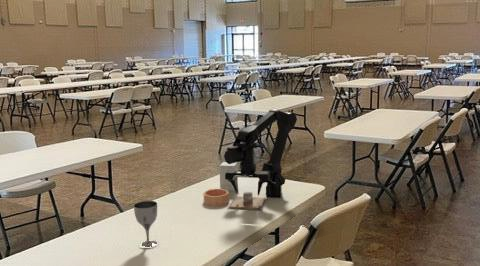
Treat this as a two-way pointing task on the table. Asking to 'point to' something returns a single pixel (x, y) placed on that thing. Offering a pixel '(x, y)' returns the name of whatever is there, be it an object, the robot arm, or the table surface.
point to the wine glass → (146, 217)
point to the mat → (248, 209)
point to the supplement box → (223, 182)
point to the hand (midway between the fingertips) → (248, 194)
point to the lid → (248, 202)
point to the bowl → (216, 197)
